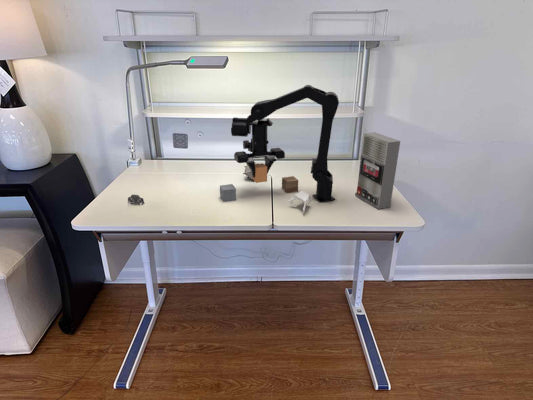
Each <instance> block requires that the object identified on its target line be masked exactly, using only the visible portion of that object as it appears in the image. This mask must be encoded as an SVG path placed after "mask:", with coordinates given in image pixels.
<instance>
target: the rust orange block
mask: <svg viewBox="0 0 533 400" xmlns="http://www.w3.org/2000/svg"><path fill="white" fill-rule="evenodd" d="M252 179H253V181H254V182H255V183H256V184H257V183H266V182H268V174H267V166H266V165H265V163H259V164H258V163H257V164H255V177H253V176H252ZM252 179H251V180H252Z"/></svg>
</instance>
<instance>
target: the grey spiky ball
mask: <svg viewBox="0 0 533 400" xmlns="http://www.w3.org/2000/svg"><path fill="white" fill-rule="evenodd" d="M253 161H254V162H255V159H253ZM245 164H246V166H244V168H245V169H244V172H243V173H242V175H246V177H247V178H249V179H250V180H251V182H253V181H254V180H253V179H252V173H251V170H250V167H249V165H248V164H247V163H245ZM255 164H260V163H257V162H255Z"/></svg>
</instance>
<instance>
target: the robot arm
mask: <svg viewBox="0 0 533 400" xmlns="http://www.w3.org/2000/svg"><path fill="white" fill-rule="evenodd" d="M306 99H308V100H310V101H312V102H314V103H317V104H318V105H320V106H321V114H322V119H321V127H320V135H319V142H318V150H317V155H316V158H314V157H313V158H312V161H311V167H310V174H311V175H312V179H313V180H314V181H316V189H315V191H316V193H315V194H312V197H313V198H314V199H316V200H317V202H320V203H322V202H330V201H335V200H336V199H335V197H334V196H332V194H333V184H334V180H333V176H334V175H333V174H332V173H331V172H330V171H329V170H328V169H329V167H328V157H329V156H328V155H329V147H330V140H331V134H332V128H333V121H334V118H335V116H336V112H337V110H338V108H339V102H340V100H339V97H338V95H337V94H336V93H335V92H333V91H327V92H326V91H325V90H322V89H321V88H317V87H314V86H312V85H311V84H305V85H304V86H303V87H301V88H298V89H296V90H293V91H290V92H288V93H286V94H283V95H280V96H278V97H276V98H272V99H266V100H259V101H258V102H255V104H253V106H252V107H251V109H250V114H249V115H248V116H247V117H246V118H245V117H244V118H243V117H233V118H232V122H231V128H230V134H231V136H232V137H243V138H244V137H248V136H249V135H250V134H251V138H250V141H249V140H247V139H245V140H243V141H242V147H243V149H244V151H243V150H241V151H235V152H234V154H233V156H234V157H233V159H234V160H235V161H236V162H237V163H238V164H246V163H247V164H248V165H249V167H250V170H251V173H252V176H253V177H255V163H256V162H255V160H254V159H257V158H258V159H259V158H264V164H265V165H266V166H267V175H268V173H269V171H270V169H271V168H272V166H273V164H274V163H275V162H277V160H282V159H285V157H286V153H285V151H284V150H283V149H282V148H280V147H273V148H270V150H269V151H268V144H269V140H268V127H272V125H273V122H272V121H271V119H270V118H267V117H269V116H270V115H272V114H273V113H275V112H277V111H278V110H280V109H283V108H286V107H288V106H291V105H293V104H295V103H298V102H300V101H303V100H306ZM265 118H266V120H264V119H265ZM256 121H257V122H256ZM245 150H247V151H248V152H250V153H247V152H246V151H245ZM253 160H254V161H253ZM247 164H246V165H247Z"/></svg>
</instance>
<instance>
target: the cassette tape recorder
mask: <svg viewBox="0 0 533 400" xmlns="http://www.w3.org/2000/svg"><path fill="white" fill-rule="evenodd" d="M400 145H401V141H400V140H398V139H395V138H392V137H389V136H386V135H384V134H381V133H378V132H367V133H366V132H364V133H363V136H362V145H361V153H360V161H359V171H358V177H357V178H358V181H357V187H356V192H354V195H355V196H356V198H359V199H360V200H362V201H364V202H366V203H367V204H369V205H370V206H372V207H374V208H376V209H377V210H380V209H385V208H390V207H391V205H392V198H393V197H392V196H393V191H394V183H395V178H396V177H395V176H396V171H397V167H398V166H397V165H398V158H399V152H400Z"/></svg>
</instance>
